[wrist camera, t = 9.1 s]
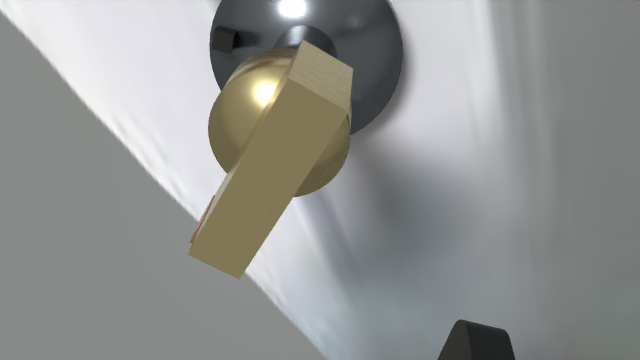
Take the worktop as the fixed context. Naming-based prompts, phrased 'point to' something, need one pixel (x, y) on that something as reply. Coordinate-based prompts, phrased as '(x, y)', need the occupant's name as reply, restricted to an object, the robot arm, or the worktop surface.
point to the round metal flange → (316, 42)
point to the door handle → (272, 147)
